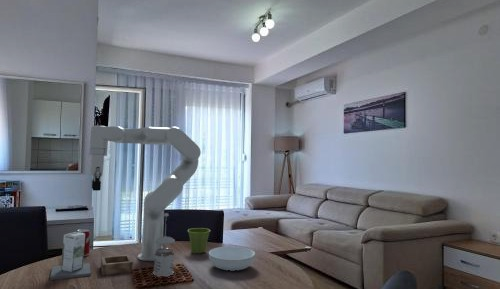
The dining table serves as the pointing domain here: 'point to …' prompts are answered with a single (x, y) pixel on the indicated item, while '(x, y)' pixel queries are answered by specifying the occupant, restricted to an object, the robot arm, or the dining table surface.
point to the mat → (61, 274)
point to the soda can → (86, 240)
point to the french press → (164, 256)
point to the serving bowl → (231, 258)
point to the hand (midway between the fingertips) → (95, 189)
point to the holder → (116, 264)
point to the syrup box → (73, 251)
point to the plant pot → (198, 239)
